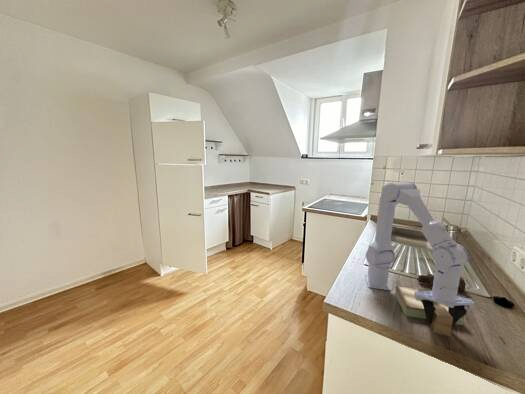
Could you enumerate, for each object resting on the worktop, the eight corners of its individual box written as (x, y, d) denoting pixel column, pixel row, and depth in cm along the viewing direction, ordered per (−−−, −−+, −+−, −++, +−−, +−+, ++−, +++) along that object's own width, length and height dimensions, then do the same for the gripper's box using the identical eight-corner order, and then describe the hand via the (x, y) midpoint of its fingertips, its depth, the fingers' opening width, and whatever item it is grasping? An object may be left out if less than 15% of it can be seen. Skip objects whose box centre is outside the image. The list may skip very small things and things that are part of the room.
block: (427, 321, 72) (429, 304, 71) (441, 323, 71) (444, 307, 70) (434, 333, 67) (437, 315, 66) (450, 335, 66) (453, 318, 65)
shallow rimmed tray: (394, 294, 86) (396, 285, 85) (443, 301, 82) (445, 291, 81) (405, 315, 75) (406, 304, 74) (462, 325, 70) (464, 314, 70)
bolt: (416, 285, 95) (460, 291, 90) (420, 285, 91) (466, 292, 86) (415, 271, 97) (458, 276, 92) (419, 271, 93) (464, 276, 87)
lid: (398, 288, 85) (399, 279, 85) (442, 295, 81) (443, 285, 81) (409, 309, 74) (410, 298, 73) (460, 317, 70) (462, 306, 69)
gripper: (423, 287, 65) (417, 328, 67) (484, 295, 61) (475, 338, 63) (414, 275, 71) (409, 312, 74) (468, 281, 67) (461, 321, 70)
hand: (439, 323), depth 69 cm, fingers open, 5 cm apart
